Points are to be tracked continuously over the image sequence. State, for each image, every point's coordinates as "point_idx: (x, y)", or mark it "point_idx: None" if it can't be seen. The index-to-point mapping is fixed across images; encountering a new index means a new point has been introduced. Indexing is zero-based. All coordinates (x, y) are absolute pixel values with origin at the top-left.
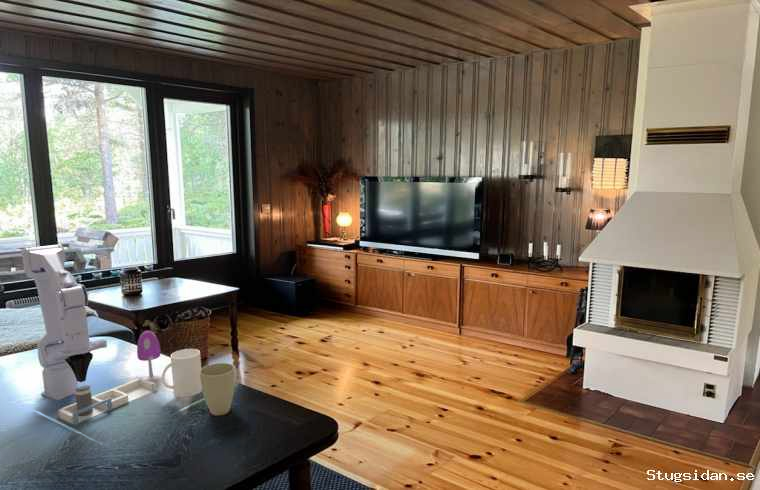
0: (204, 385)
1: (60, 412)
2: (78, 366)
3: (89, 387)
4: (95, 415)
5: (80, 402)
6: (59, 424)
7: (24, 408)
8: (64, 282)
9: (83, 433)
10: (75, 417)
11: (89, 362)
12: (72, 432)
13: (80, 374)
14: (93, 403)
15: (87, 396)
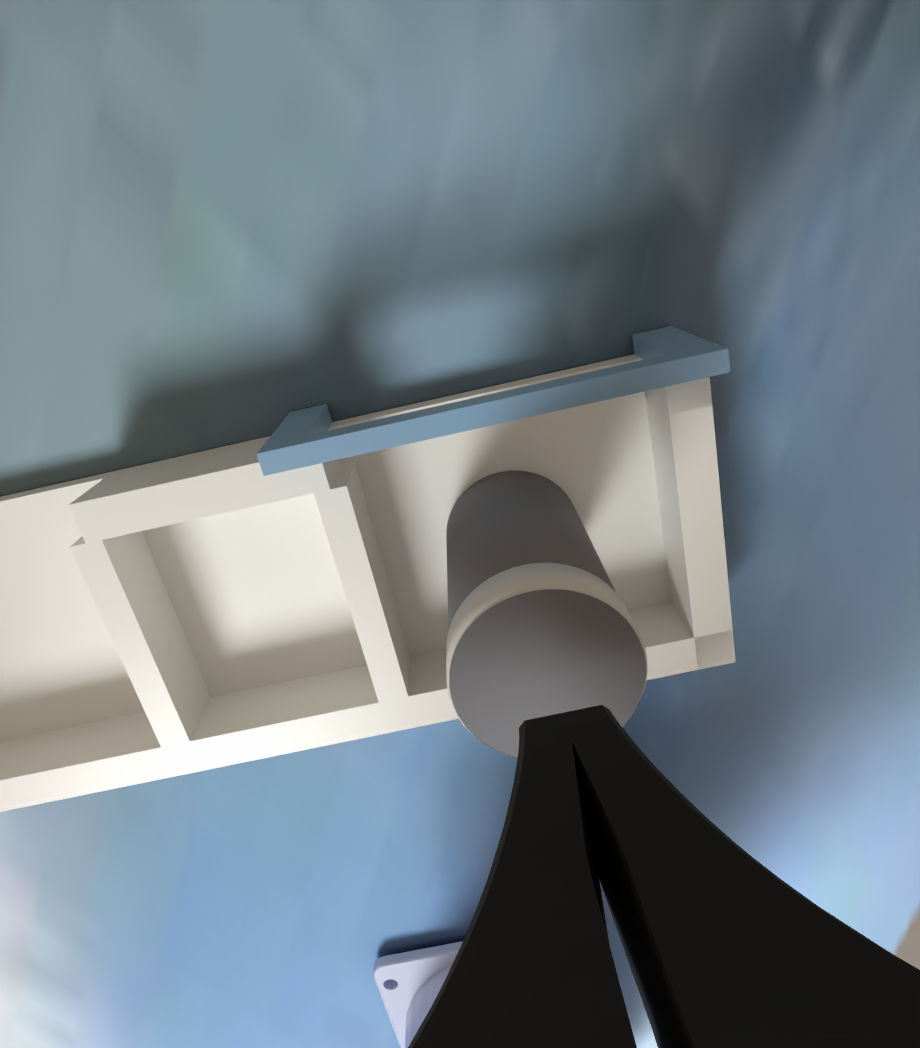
0: None
1: (726, 603)
2: (786, 939)
3: (468, 647)
4: (459, 400)
5: (585, 543)
6: (737, 502)
7: None
8: None
9: (669, 102)
10: (690, 341)
11: (452, 1010)
12: (731, 225)
13: (650, 788)
14: (404, 645)
15: (513, 550)
